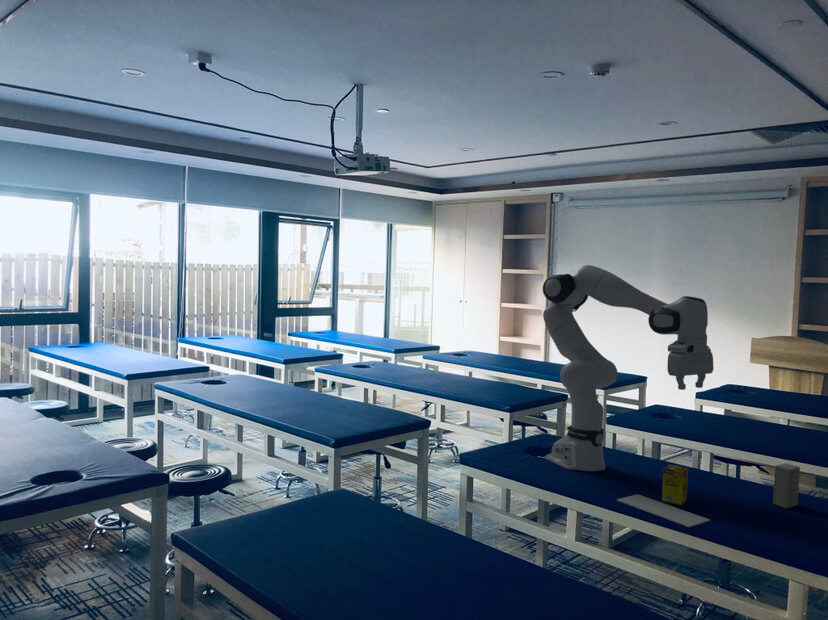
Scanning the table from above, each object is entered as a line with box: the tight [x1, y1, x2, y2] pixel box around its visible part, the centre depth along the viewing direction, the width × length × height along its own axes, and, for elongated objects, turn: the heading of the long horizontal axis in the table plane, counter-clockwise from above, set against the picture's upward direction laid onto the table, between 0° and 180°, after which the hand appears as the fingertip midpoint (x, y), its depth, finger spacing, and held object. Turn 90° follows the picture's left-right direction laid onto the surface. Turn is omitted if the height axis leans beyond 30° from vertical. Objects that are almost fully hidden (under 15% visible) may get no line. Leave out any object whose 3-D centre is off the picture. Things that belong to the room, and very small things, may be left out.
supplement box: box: [661, 463, 689, 508], centre depth 189 cm, size 6×6×11 cm
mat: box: [616, 493, 711, 528], centre depth 183 cm, size 24×10×1 cm, turn 34°
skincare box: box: [772, 463, 801, 509], centre depth 191 cm, size 6×4×12 cm
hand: (690, 388), depth 202 cm, fingers open, 8 cm apart
